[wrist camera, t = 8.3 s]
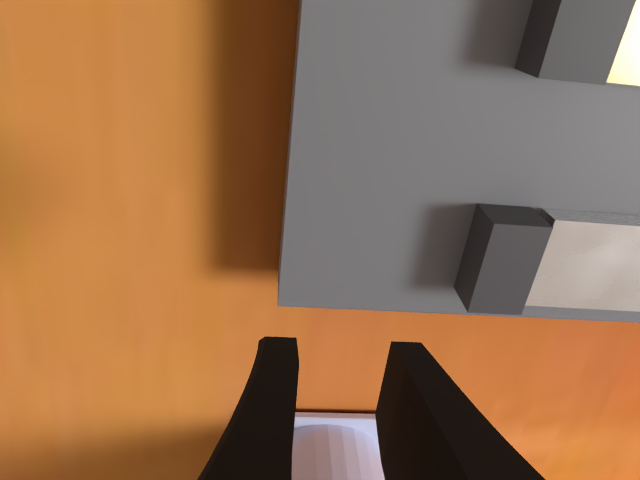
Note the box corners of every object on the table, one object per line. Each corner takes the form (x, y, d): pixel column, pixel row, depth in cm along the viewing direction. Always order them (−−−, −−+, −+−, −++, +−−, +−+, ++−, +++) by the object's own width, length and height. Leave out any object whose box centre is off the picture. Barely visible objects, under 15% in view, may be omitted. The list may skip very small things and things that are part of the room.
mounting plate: (783, 298, 24) (879, 360, 20) (278, 271, 21) (277, 336, 17) (1005, -38, 17) (1211, -41, 13) (310, -139, 14) (320, -179, 11)
